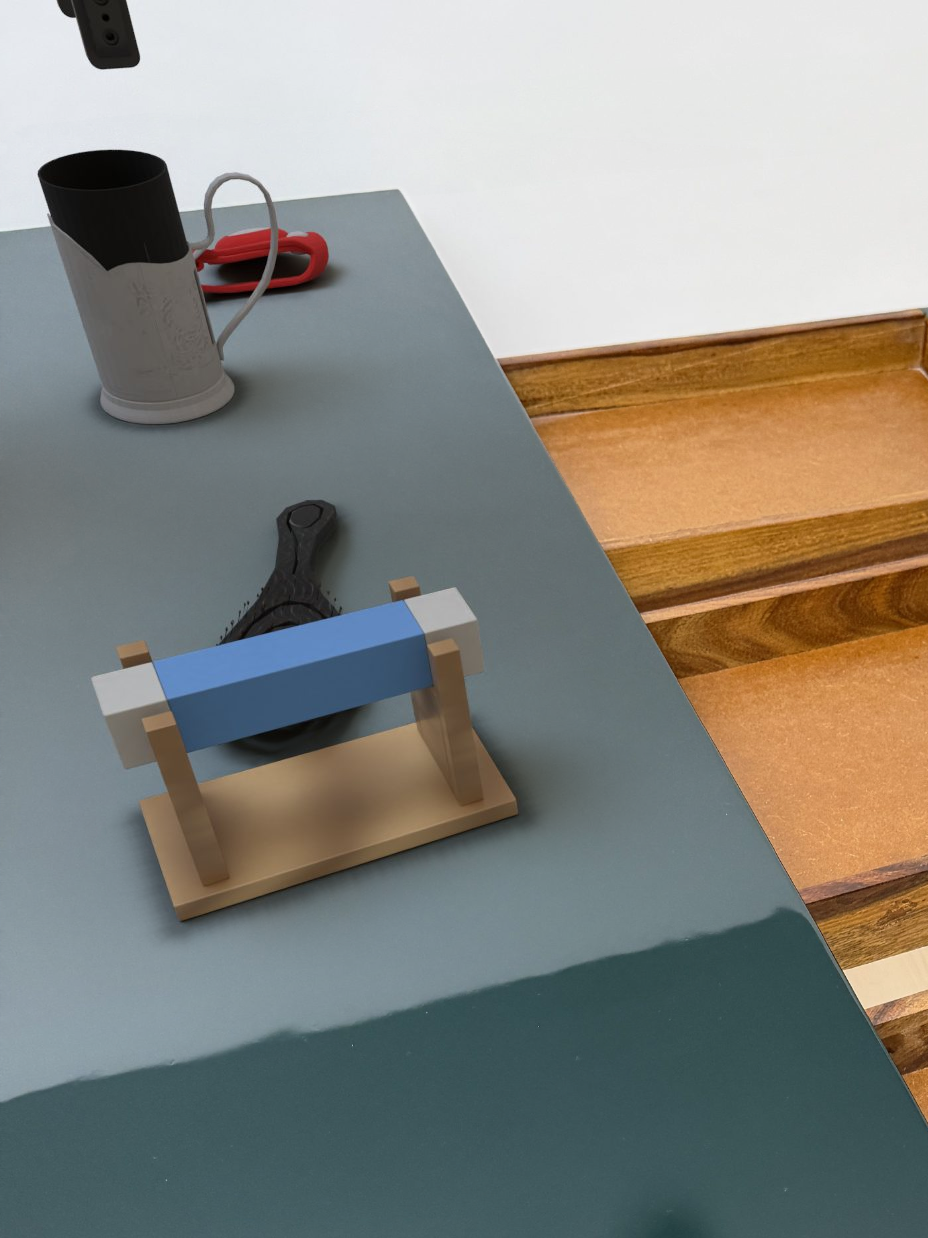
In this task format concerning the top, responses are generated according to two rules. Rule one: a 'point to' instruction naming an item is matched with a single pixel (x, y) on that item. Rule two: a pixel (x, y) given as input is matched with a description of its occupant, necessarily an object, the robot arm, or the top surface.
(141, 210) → the glass holder
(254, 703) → the handle
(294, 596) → the hairbrush
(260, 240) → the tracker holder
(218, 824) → the holder
